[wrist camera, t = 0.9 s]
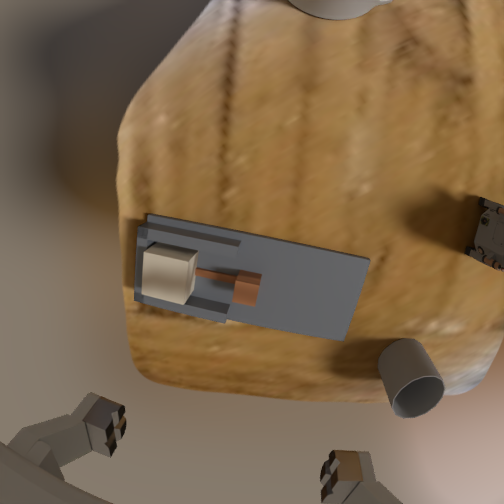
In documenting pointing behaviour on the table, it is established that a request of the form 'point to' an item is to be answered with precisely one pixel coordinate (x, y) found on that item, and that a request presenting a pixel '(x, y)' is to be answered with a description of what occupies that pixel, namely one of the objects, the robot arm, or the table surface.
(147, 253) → the block
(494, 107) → the table surface
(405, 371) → the cup
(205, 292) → the grey slider tray
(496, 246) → the figurine
